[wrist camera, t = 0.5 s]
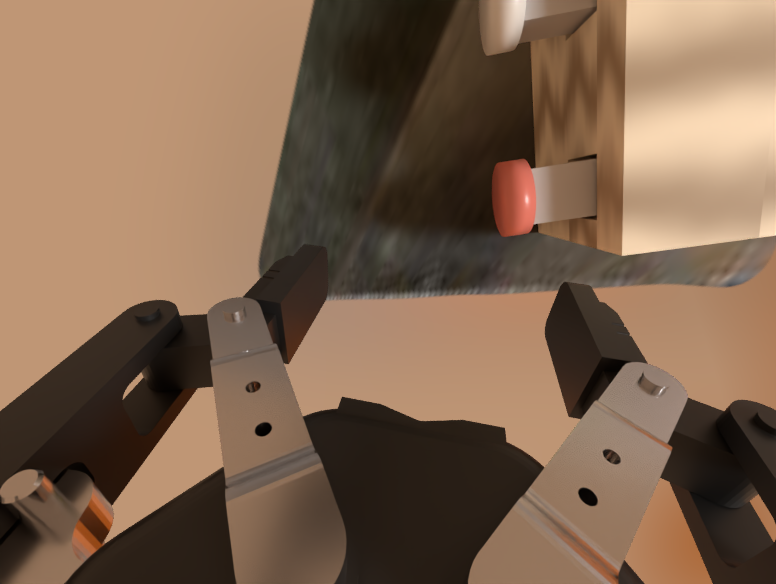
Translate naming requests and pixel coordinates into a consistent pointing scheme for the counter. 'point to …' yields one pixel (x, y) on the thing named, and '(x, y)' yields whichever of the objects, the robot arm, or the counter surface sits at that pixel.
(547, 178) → the red plug
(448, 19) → the counter surface
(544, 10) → the beige plug
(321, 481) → the robot arm
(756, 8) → the block
